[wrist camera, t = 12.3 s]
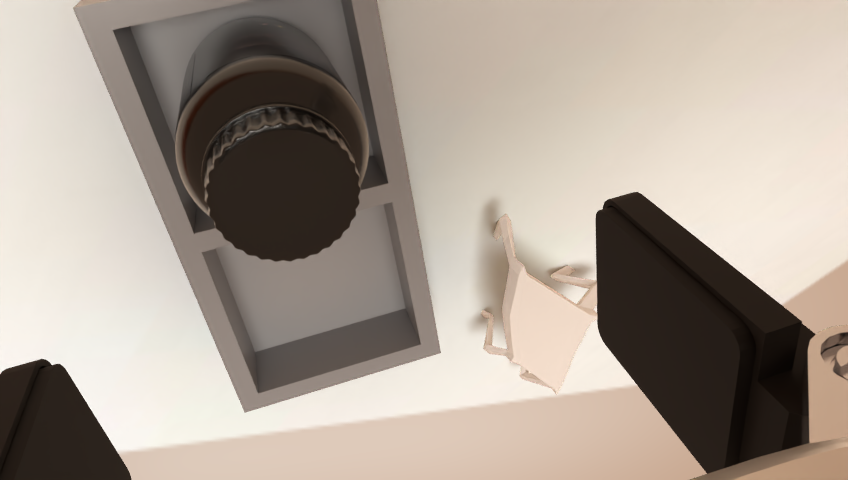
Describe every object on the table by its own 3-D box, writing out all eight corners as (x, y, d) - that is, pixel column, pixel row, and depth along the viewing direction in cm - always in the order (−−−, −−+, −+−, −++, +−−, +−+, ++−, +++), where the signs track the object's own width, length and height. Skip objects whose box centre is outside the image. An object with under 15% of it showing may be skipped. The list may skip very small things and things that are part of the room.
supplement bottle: (319, 168, 33) (363, 302, 22) (175, 145, 30) (152, 282, 20) (350, 32, 30) (416, 115, 20) (195, -6, 27) (178, 66, 17)
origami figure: (607, 293, 44) (647, 338, 39) (507, 365, 44) (536, 415, 40) (526, 168, 37) (564, 205, 33) (410, 254, 38) (433, 301, 34)
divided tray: (348, -62, 29) (367, -52, 25) (419, 307, 40) (440, 352, 36) (93, -12, 27) (72, 7, 23) (242, 359, 38) (244, 412, 34)
